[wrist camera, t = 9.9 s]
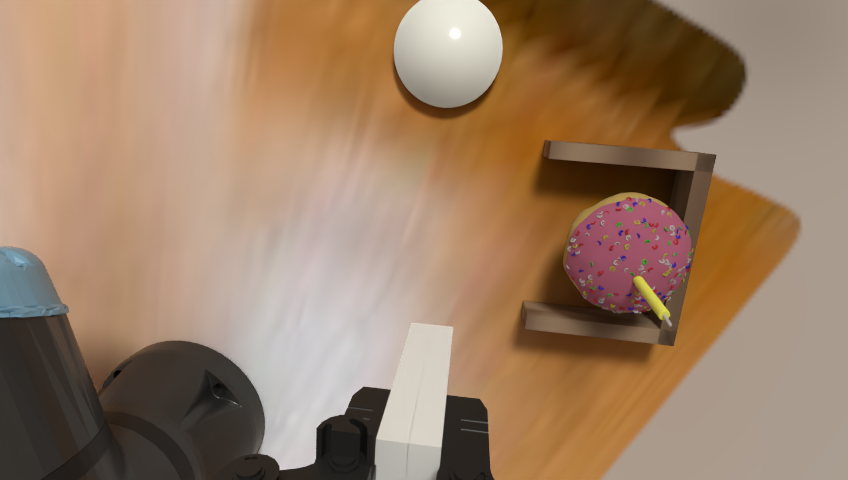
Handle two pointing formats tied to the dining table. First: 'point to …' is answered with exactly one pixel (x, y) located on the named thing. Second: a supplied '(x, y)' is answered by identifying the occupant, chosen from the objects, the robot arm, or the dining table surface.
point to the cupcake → (628, 254)
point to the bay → (684, 202)
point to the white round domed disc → (448, 51)
